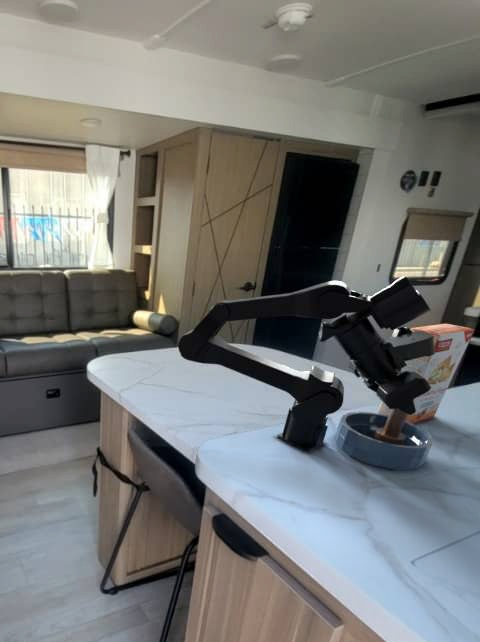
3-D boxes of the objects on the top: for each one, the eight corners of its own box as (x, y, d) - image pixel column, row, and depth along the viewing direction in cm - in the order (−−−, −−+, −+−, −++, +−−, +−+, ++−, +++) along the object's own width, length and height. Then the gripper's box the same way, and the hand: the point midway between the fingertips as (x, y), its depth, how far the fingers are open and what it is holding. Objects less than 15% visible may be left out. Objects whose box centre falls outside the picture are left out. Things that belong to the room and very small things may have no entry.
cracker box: (402, 429, 87) (442, 334, 78) (374, 418, 92) (408, 327, 83) (436, 418, 93) (477, 328, 84) (408, 408, 98) (444, 321, 89)
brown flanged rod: (392, 448, 74) (415, 392, 69) (368, 436, 77) (388, 383, 73) (408, 444, 75) (431, 389, 71) (383, 432, 79) (404, 380, 74)
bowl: (319, 444, 80) (326, 421, 78) (356, 427, 88) (364, 406, 85) (400, 481, 69) (411, 456, 67) (435, 458, 77) (446, 435, 75)
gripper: (441, 327, 59) (493, 405, 62) (387, 304, 75) (430, 367, 78) (364, 372, 64) (415, 443, 66) (329, 341, 80) (372, 399, 83)
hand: (409, 409), depth 73 cm, fingers closed on brown flanged rod, 2 cm apart
